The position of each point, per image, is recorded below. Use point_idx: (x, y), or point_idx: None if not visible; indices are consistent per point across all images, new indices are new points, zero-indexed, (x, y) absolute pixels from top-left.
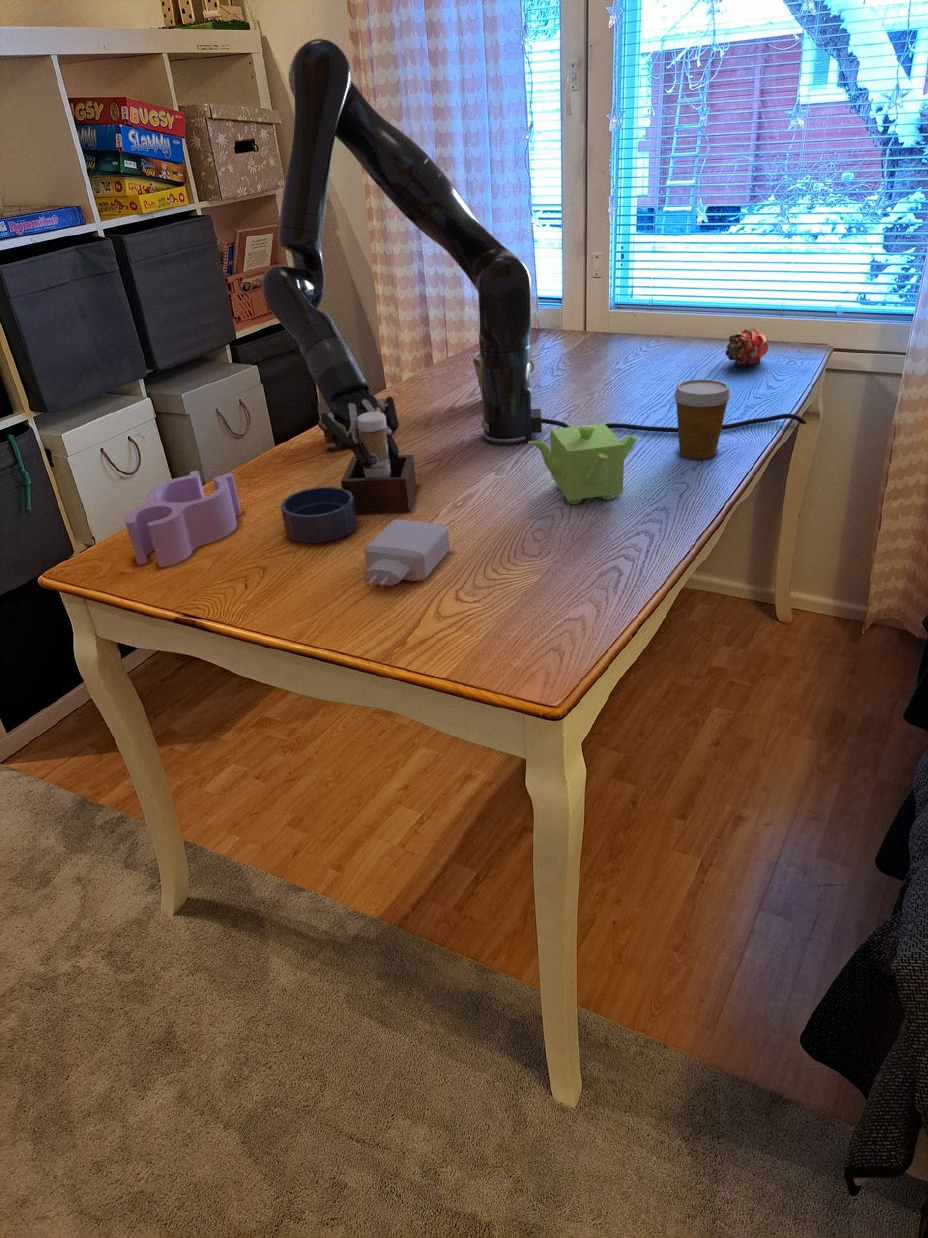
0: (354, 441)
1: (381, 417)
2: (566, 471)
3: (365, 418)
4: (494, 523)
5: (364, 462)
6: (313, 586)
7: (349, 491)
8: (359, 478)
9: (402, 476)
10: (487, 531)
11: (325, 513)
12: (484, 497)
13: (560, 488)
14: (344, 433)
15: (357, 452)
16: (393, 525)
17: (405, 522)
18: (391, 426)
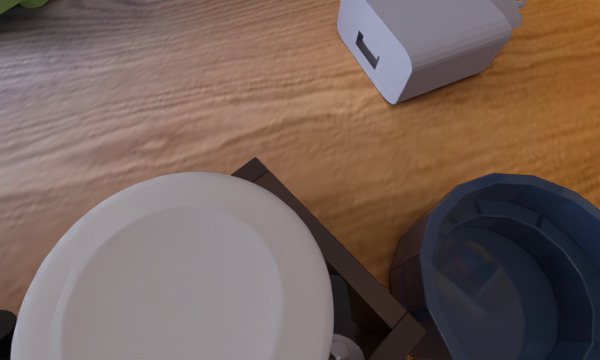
0: (359, 351)
1: (156, 185)
2: None
3: (272, 286)
4: (197, 43)
5: (338, 276)
6: (576, 110)
7: (421, 261)
8: (359, 289)
9: (246, 178)
10: (231, 35)
11: (548, 187)
12: (93, 125)
13: (13, 2)
14: None
15: (351, 321)
16: (428, 38)
17: (401, 30)
18: (6, 348)
